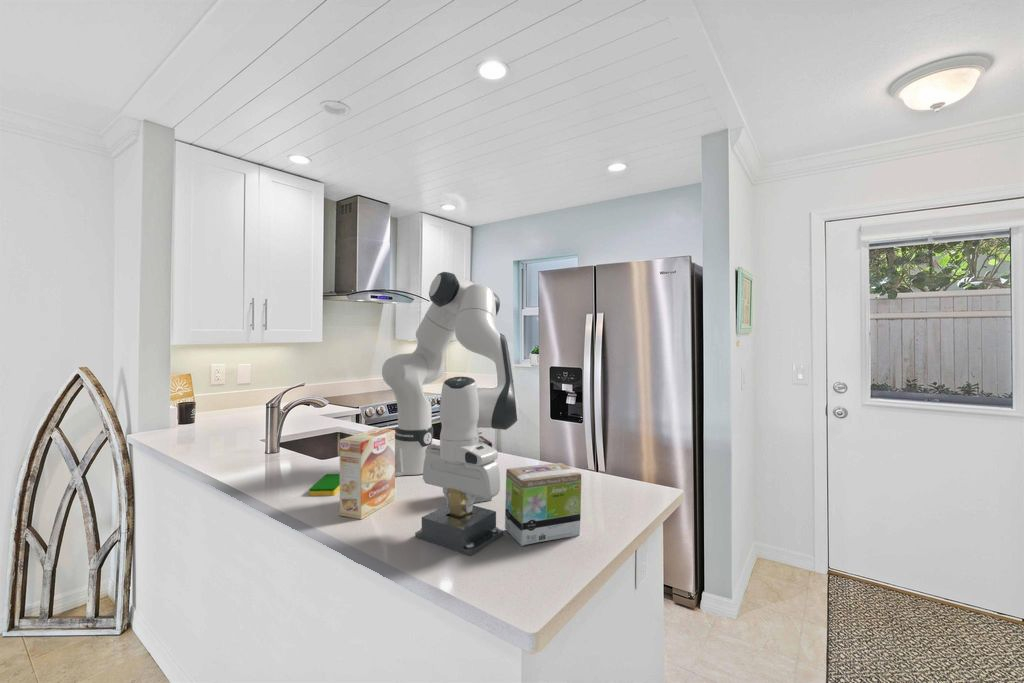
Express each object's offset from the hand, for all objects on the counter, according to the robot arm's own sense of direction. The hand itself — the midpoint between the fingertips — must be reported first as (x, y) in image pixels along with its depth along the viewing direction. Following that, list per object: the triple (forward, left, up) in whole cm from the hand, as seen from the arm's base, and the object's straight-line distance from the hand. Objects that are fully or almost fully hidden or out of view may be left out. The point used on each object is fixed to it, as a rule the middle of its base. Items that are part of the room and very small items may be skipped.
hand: (459, 509), depth 108 cm
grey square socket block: (0, 0, -6) cm, 6 cm away
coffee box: (-12, +22, -6) cm, 26 cm away
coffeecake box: (-31, 0, -6) cm, 32 cm away
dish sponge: (-53, +4, -7) cm, 54 cm away
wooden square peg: (0, 0, -3) cm, 3 cm away
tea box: (+15, +12, -6) cm, 20 cm away
